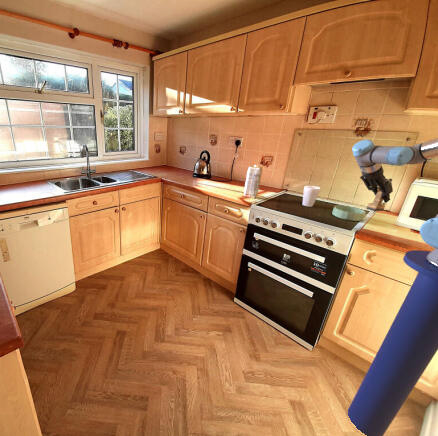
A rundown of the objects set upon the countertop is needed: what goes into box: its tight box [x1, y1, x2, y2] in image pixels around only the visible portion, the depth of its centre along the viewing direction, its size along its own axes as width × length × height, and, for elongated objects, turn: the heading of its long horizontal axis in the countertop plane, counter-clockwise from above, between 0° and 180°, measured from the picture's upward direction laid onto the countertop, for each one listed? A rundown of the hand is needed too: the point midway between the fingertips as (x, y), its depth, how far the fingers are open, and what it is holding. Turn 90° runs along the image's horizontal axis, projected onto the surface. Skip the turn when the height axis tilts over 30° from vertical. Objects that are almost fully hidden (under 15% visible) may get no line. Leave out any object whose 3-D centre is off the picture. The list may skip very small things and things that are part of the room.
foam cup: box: [301, 185, 322, 208], centre depth 168 cm, size 10×9×13 cm
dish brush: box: [366, 188, 386, 212], centre depth 124 cm, size 6×4×15 cm, turn 103°
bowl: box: [331, 204, 367, 222], centre depth 149 cm, size 15×16×5 cm
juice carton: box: [243, 164, 263, 199], centre depth 183 cm, size 9×8×24 cm
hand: (384, 200), depth 126 cm, fingers closed on dish brush, 2 cm apart
